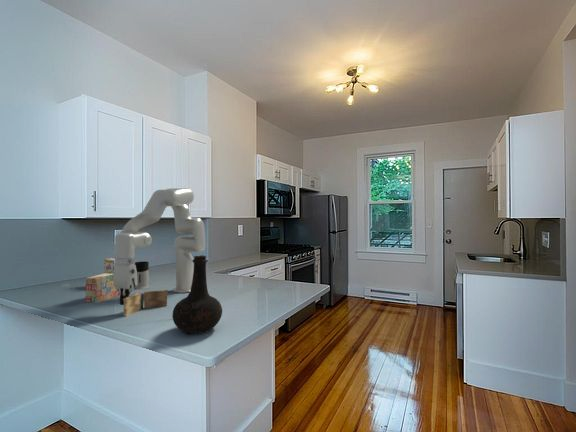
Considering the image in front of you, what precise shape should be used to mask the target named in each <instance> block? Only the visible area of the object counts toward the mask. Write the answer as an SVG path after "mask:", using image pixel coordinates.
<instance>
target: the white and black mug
mask: <svg viewBox="0 0 576 432" xmlns="http://www.w3.org/2000/svg"><path fill="white" fill-rule="evenodd" d="M134 265H136V270H137V287H134V290H143V289H149V288H150V284H149V282H150V281H149V279H150V277H149V275H150V273H149V272H150V268H149V261H136V262H134Z"/></svg>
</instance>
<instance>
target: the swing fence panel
mask: <svg viewBox="0 0 576 432" xmlns="http://www.w3.org/2000/svg"><path fill="white" fill-rule="evenodd" d="M142 293H143V292H136V293H135V294H132V295H131V294H130V295H129V297H126V298H124V299H123V300H124V305H123V317H129V316H130V315H133V314H134V313H136V312H138V311H140V310H142V309H141V294H142Z"/></svg>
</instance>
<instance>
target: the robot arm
mask: <svg viewBox="0 0 576 432" xmlns="http://www.w3.org/2000/svg"><path fill="white" fill-rule="evenodd" d="M194 199H195V194H194V191H193V190H192V189H191V188H186V187H185V188H166V189H158V190H155V191H154V192H153V194H151V197H150V198H149V200H148V202H147V203H146V205H145V207H144V209H142V211H141V212H140V213H138V214H137V215H135V216H134V217H132V218H131V219H129V220H128V222H126V224H125V225H124V226H123V228H122V230H121V231H120V233H116V234H115V237H114V259H115V266H114V273H113V286H114V287H115V289H116V290H118V292H119V295H118V296H119V305H122V306H124V300H123V299H124V298H126V297H129V296H130V295H131V293H132V292H135V289H134V287H137V270H136V265H135V250H136V249H145V248H148V247H149V246H150V245H151V244H152V242H153V239H152V236H151V235H150V233H148V232H147V231H146V232H145V231H139V230H141V229H143V228H144V227H147V226H150V225H152V224H155V223H157V222H158V221H160V220H161V218H162V216H163V214H164V212H165V210H166V209H167V207H171V209H172V212H173V216H174V217H173V218H174V227H175V231H176V232H177V233H178V234H182V235H179V236H177V237H176V238H175V240H174V249H175V250H174V251H175V257H176V258H175V259H176V260H175V263H176V264H175V287H174V288H173V289H172V292H173V293H178V294H179V293H180V294H182V293H185V294H186V293H190V290H191V285H192V280H193V271H194V262H192V260H194V256H193V255H192V253H194V254H198V253H199V254H200V253H203V252H204V251H205V249H206V231H205V224H204V221H203V220H202V218H200V217H193V216H191V214H190V213H191V212H190V207H189V204H191V203H193V201H194Z"/></svg>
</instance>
